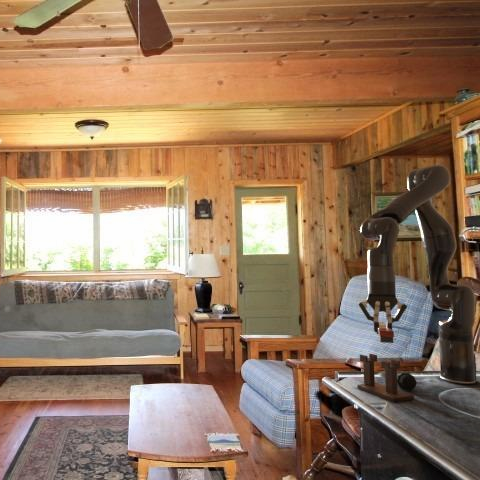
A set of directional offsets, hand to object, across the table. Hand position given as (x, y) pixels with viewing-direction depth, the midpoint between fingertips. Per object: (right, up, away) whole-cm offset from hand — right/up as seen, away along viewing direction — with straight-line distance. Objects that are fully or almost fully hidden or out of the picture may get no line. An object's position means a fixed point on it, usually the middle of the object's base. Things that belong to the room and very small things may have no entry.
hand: (382, 333), depth 130 cm
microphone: (+11, -19, +9) cm, 24 cm away
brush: (-1, -1, -1) cm, 2 cm away
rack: (0, -19, -1) cm, 19 cm away
